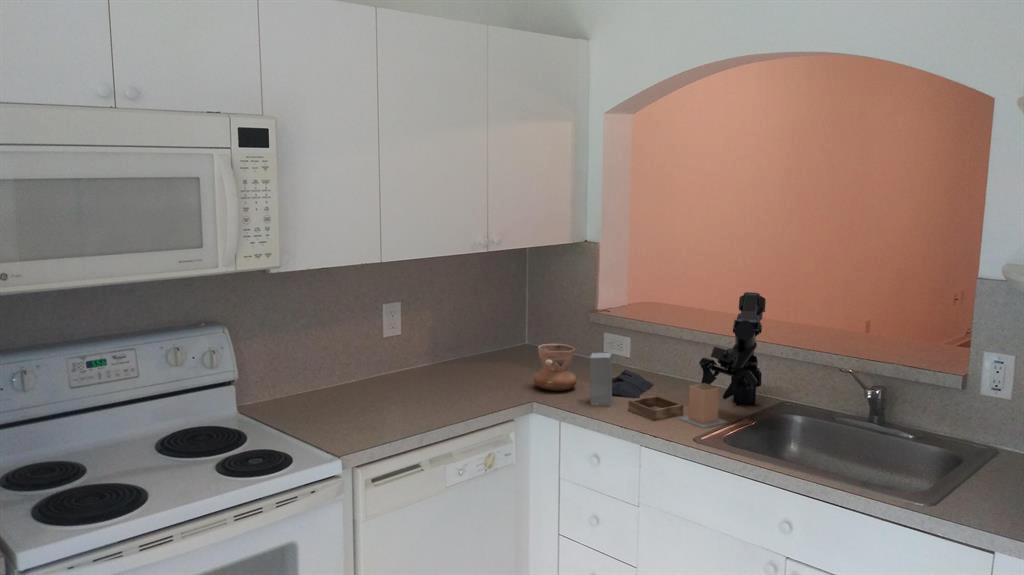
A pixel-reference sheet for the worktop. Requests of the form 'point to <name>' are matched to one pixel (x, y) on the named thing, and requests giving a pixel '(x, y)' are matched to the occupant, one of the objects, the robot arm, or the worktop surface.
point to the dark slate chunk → (629, 385)
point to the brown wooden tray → (655, 408)
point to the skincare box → (601, 379)
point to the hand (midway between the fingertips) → (711, 394)
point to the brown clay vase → (555, 367)
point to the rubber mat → (703, 424)
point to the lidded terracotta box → (703, 403)
